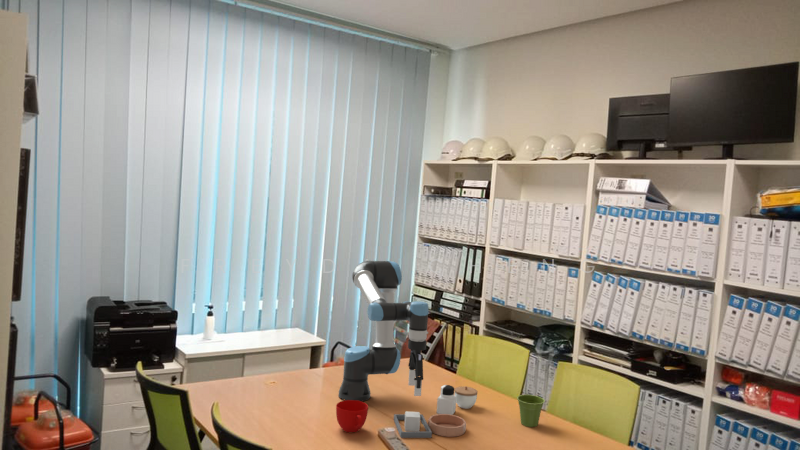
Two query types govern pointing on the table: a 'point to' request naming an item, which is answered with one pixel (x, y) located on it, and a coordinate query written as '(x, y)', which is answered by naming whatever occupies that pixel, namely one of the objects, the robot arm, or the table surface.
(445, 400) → the medicine bottle
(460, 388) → the lidded jar
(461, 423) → the bowl
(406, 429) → the white cube
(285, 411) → the table surface
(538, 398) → the plant pot
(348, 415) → the ceramic cup
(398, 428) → the parts tray
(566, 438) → the table surface
